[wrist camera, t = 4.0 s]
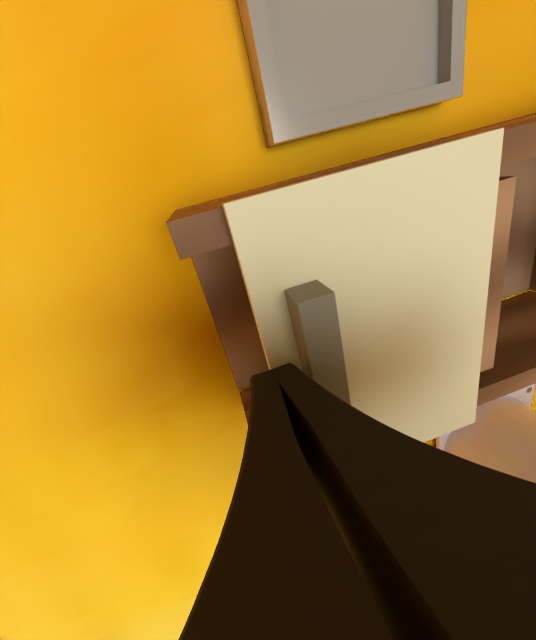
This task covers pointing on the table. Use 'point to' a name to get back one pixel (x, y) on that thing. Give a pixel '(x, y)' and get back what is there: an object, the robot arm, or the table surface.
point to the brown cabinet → (505, 276)
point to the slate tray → (350, 60)
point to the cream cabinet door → (379, 280)
